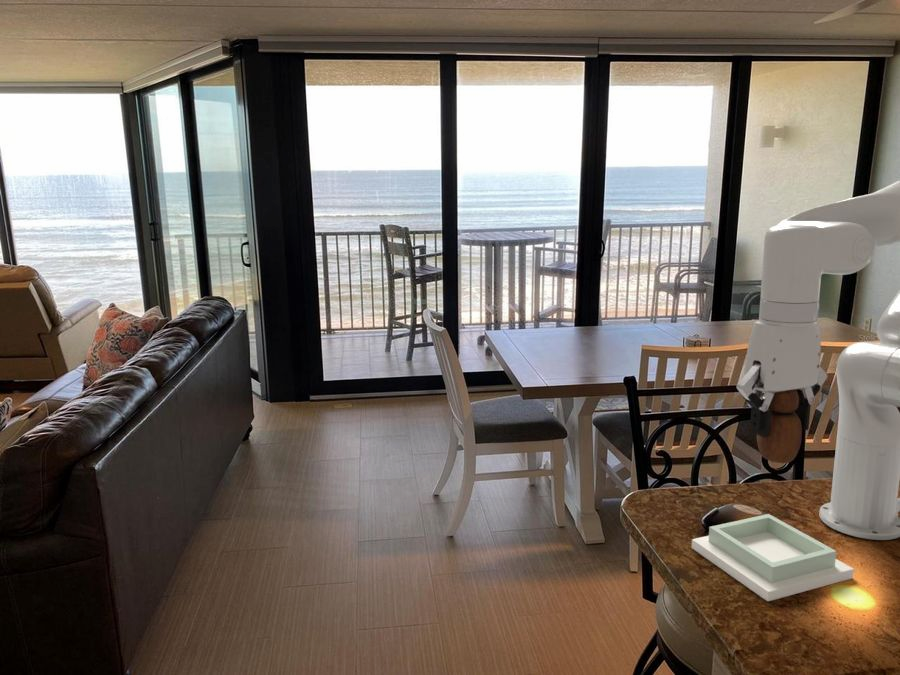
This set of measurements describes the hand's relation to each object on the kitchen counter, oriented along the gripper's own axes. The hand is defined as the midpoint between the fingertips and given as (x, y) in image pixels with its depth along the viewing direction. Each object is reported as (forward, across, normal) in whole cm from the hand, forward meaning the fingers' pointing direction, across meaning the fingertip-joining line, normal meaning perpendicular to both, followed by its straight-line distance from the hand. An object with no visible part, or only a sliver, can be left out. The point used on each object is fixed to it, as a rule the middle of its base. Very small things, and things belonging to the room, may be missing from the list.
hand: (779, 430), depth 100 cm
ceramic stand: (+21, 0, 0) cm, 21 cm away
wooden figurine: (+5, 0, 0) cm, 5 cm away
